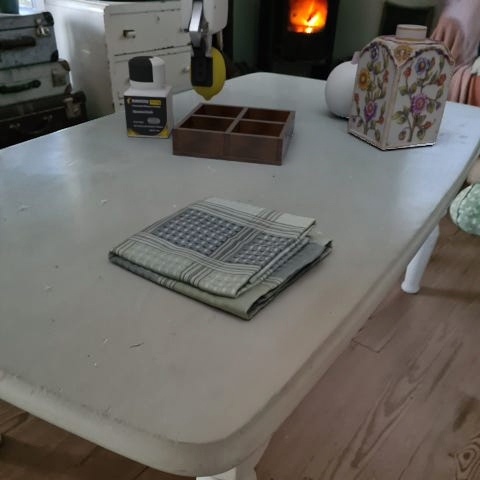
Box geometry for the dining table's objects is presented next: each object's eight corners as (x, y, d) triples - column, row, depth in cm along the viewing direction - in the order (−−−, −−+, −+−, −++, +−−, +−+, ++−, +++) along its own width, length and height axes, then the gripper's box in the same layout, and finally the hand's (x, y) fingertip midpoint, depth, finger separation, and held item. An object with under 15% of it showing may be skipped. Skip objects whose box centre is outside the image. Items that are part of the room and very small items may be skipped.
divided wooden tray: (172, 154, 82) (171, 128, 80) (200, 125, 96) (200, 102, 94) (281, 165, 80) (283, 138, 78) (293, 134, 94) (295, 110, 91)
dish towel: (102, 263, 54) (98, 235, 52) (207, 208, 66) (207, 184, 64) (251, 327, 45) (253, 297, 44) (340, 251, 58) (344, 225, 56)
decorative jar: (381, 152, 87) (404, 30, 77) (344, 132, 96) (361, 21, 85) (437, 146, 91) (467, 29, 80) (398, 128, 100) (420, 20, 89)
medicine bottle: (126, 137, 89) (119, 60, 82) (135, 125, 95) (129, 52, 88) (168, 139, 89) (164, 62, 82) (173, 127, 95) (171, 54, 88)
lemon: (231, 99, 82) (232, 43, 77) (215, 107, 78) (215, 47, 73) (200, 95, 84) (199, 39, 79) (183, 102, 80) (181, 43, 75)
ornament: (363, 127, 99) (374, 58, 92) (314, 118, 103) (321, 51, 96) (379, 116, 106) (391, 51, 99) (333, 108, 110) (341, 45, 103)
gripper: (196, -64, 76) (197, 70, 87) (159, -68, 62) (166, 92, 73) (246, -62, 75) (241, 73, 86) (219, -66, 61) (218, 96, 72)
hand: (207, 80), depth 79 cm, fingers closed on lemon, 5 cm apart
